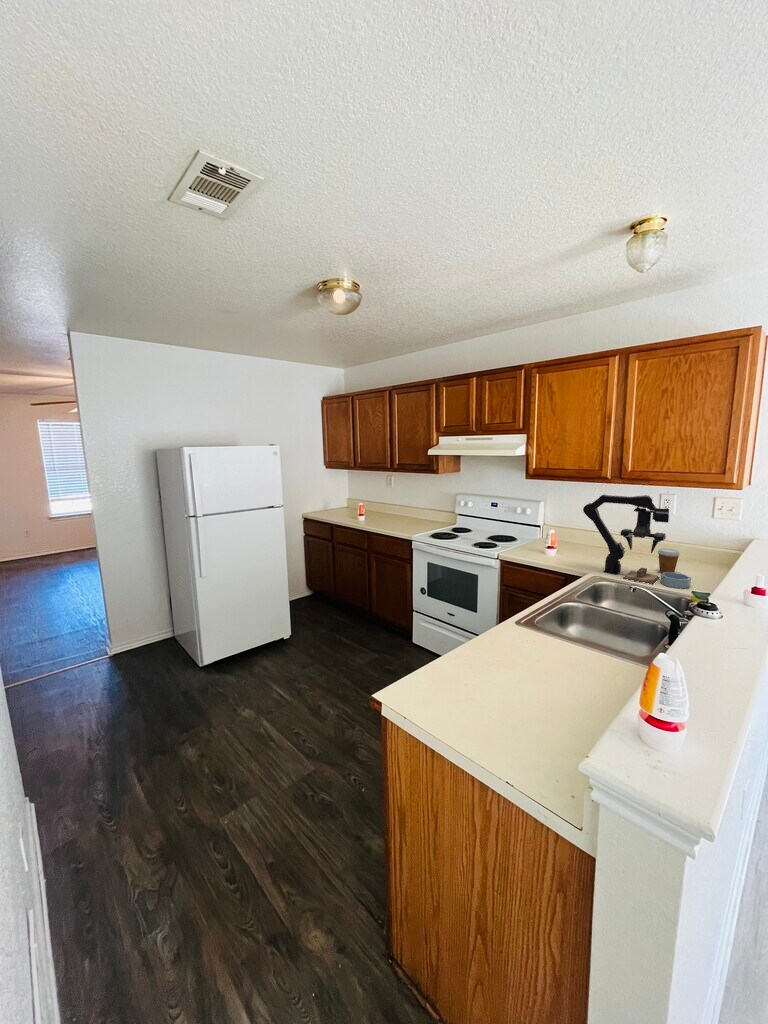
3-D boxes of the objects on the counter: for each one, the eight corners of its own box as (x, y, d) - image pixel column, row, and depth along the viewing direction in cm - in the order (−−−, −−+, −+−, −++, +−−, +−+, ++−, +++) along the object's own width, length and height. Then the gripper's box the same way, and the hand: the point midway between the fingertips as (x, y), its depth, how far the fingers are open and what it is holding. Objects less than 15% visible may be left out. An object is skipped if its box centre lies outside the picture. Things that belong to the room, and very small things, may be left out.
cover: (624, 577, 208) (625, 570, 207) (631, 572, 216) (631, 565, 216) (652, 582, 199) (653, 574, 199) (658, 577, 208) (658, 569, 207)
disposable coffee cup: (681, 576, 212) (683, 553, 210) (660, 575, 214) (662, 552, 212) (672, 570, 221) (674, 548, 219) (652, 569, 223) (654, 547, 221)
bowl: (657, 585, 199) (658, 575, 198) (665, 579, 206) (665, 571, 205) (685, 590, 191) (686, 581, 190) (692, 585, 198) (693, 576, 197)
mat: (623, 578, 208) (623, 577, 208) (630, 573, 217) (630, 572, 217) (653, 584, 199) (653, 583, 199) (659, 578, 208) (659, 577, 208)
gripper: (618, 520, 209) (615, 551, 211) (662, 525, 196) (659, 557, 198) (624, 518, 216) (622, 547, 219) (667, 522, 203) (664, 553, 206)
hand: (641, 551), depth 210 cm, fingers open, 9 cm apart
